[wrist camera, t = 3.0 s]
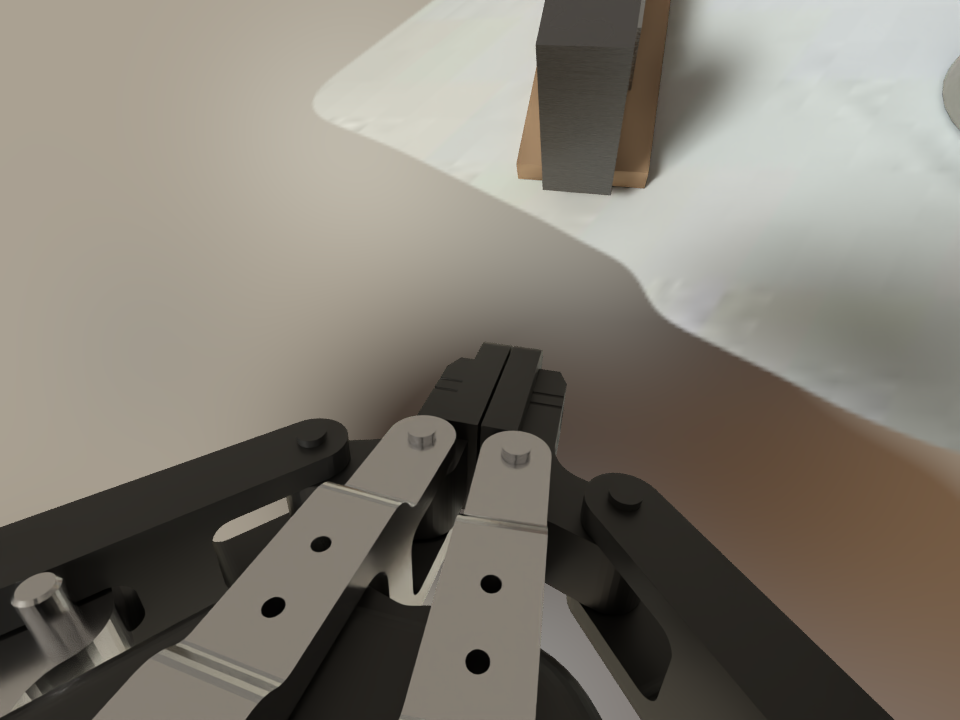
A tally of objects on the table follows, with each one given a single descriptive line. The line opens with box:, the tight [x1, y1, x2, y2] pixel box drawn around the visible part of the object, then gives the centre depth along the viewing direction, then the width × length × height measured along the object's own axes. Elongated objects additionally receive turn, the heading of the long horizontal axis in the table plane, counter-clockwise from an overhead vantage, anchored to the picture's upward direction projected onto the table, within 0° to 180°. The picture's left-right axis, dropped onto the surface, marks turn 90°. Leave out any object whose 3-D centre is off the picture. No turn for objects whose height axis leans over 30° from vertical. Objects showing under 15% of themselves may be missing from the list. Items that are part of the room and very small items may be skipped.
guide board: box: [517, 0, 671, 188], centre depth 35 cm, size 8×20×2 cm, turn 169°
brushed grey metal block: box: [536, 0, 641, 195], centre depth 28 cm, size 4×16×10 cm, turn 169°
